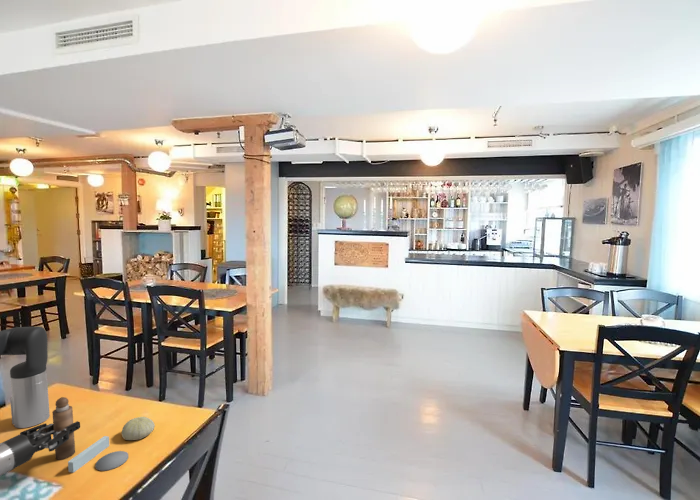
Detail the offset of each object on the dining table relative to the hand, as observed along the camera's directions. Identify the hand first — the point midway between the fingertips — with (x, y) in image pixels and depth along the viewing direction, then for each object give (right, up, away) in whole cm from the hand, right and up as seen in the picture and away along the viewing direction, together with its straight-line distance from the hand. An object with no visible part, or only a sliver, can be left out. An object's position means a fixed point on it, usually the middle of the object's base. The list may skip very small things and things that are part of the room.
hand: (73, 422), depth 109 cm
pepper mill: (-1, -9, -2) cm, 9 cm away
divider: (+7, -9, -3) cm, 12 cm away
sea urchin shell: (+15, -8, +9) cm, 19 cm away
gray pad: (+15, -9, -4) cm, 18 cm away
